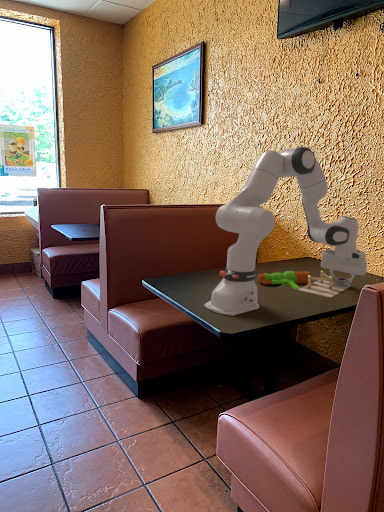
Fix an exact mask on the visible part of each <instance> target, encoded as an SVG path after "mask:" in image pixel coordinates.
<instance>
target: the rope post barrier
mask: <svg viewBox="0 0 384 512" xmlns="http://www.w3.org/2000/svg"><path fill="white" fill-rule="evenodd" d="M333 279H334V277H333V276H331V275H328V274H327V273H326V272H325V270H323V269H322V270H320V276H319V277H316V276H312V275H311V276H308V284H307V285H308V286H307V289H311V283H312V281H318V280H320V283H323V280H325V281H329V288H328V289H332V283H333Z"/></svg>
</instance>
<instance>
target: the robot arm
mask: <svg viewBox="0 0 384 512" xmlns="http://www.w3.org/2000/svg"><path fill="white" fill-rule="evenodd" d="M288 177H289V178H290V177H291V178H292V177H296V181H297V183H298V188H299V190H300V193H301V203H302V207H303V211H304V215H305V218H306V219H305V220H306V222H307V237H308V239H309V240H310V241H311V242H314V243H319V244H323V245H326V246H329V247H330V246H331V247H334V249H329V248H326V249H324V250H322V253H321V260H320V261H321V262H320V267H321V269H325V270H329V273H330V276H333V277H334V278H336V277H337V276H336V275H335V273H334V272H335V271H337V272H342V273H346V274H350V276H351V277H350V278H349V277H348V278H347V279H348V281H347V282H348V283H349V284H352V282H353V279H354V278H355V276H357V275H358V276H364V275H366V274H367V271H368V269H367V268H368V265H367V264H368V262H367V260H366V257H367V254H366V253H365V252H364V251H361V250H359V249H357V243H356V242H357V240H358V235H359V234H358V232H359V221H358V219H356V218H354V217H349V216H345V215H343V216H340V217H339V218H338V219H337V220H335V221H334V222H331V223H328V222H325V221H323V219H322V217H321V213H320V210H319V207H318V206H319V205H318V204H319V203H318V202H319V201H321V200H322V199H324V198H325V197H326V196H327V193H328V191H329V189H328V182H327V179H326V176H325V173H324V171H323V169H322V166H321V165H320V163H319V161H318V159H317V157H316V156H315V153H314V152H313V150H312V149H311V148H310V147H306V146H304V147H303V146H300V147H296V148H295V147H294V148H286V149H284V150H280V151H275V150H273V149H272V150H270V149H269V150H266V151H264V152H263V153H262V154H261V155H260V157H259V158H258V159H257V161H256V162H255V164H254V166H253V168H252V169H251V171H250V173H249V175H248V178H247V179H246V181H245V183H244V185H243V186H242V188H241V190H239V192H238V193H237V194H236V195H235V196H234V197H233V198H232V199H231V200H230V201H228V202H227V203H225V204H223V205H221V206H220V207H219V208H218V209H217V210H216V213H215V222H216V225H217V226H218V227H219V228H220V229H222V230H223V231H227V232H230V233H235V234H238V238H237V241H236V242H235V243H233V244H232V245H230V246H229V247H228V249H227V255H226V256H227V258H226V267H225V268H224V270H220V271H219V276H220V277H223V278H222V279H221V281H220V282H219V283H218V284H217V286H216V287H215V288H214V289H213V290H212V292H211V298H210V300H209V301H208V302H206V303H204V307H206V308H205V309H207V310H209V311H211V310H212V311H211V312H214V313H217V314H221V315H225V316H236V315H240V314H243V313H247V312H251V311H254V310H258V309H260V304H258V287H257V285H256V281H255V279H256V277H257V273H256V272H257V270H256V262H257V261H256V259H257V254H258V253H257V252H258V248H259V247H260V244H261V243H262V241H263V240H264V239H265V238H266V237H268V235H270V234H271V233H272V232H273V230H274V229H275V225H276V223H275V222H276V221H275V216H274V214H273V212H272V211H270V210H269V209H266V208H264V207H262V206H260V205H263V204H265V203H267V202H268V201H269V200H270V199H271V196H272V194H273V193H274V190H275V188H276V186H277V185H278V181H279V180H280V179H281V178H288Z"/></svg>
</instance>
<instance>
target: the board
mask: <svg viewBox="0 0 384 512" xmlns="http://www.w3.org/2000/svg"><path fill="white" fill-rule="evenodd" d="M332 284H333V283H332ZM307 286H308V284H305V285H304V286H302V287H300V289H297V291H301V292H306V293H309V294H314V295H317V296H321V297H325V298H333V297H334V296H336V295H337V294H340V293H341V292H343V291H344V290H347V289H348V288H346V289H343V288H339V287H334V286H332V289H328V288H329V280H323V283H320V280H314V281H313V282H311V289H307Z"/></svg>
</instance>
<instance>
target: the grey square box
mask: <svg viewBox="0 0 384 512" xmlns="http://www.w3.org/2000/svg"><path fill="white" fill-rule="evenodd" d="M348 279H349V278H347V277H346V278H344V277H340V276H336V277H335V278H334V279H333V285H335V286H339V287H344V288H345V287H347V286H348V285H350V283H348V282H347V281H348Z"/></svg>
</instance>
